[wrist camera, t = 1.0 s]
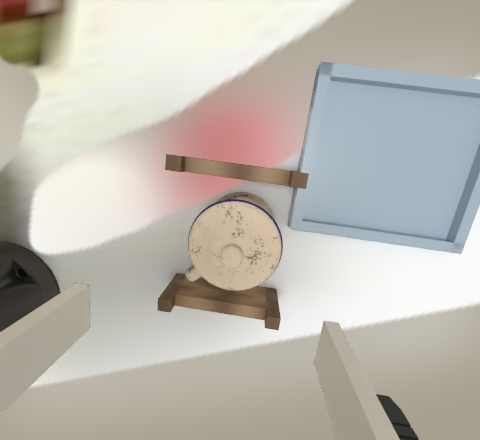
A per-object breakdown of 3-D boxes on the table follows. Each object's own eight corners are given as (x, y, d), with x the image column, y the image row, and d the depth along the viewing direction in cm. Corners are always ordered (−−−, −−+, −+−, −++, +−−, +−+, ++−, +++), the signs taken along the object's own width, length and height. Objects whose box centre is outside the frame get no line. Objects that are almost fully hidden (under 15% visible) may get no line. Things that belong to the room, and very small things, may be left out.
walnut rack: (176, 283, 33) (157, 310, 27) (185, 156, 29) (166, 154, 23) (274, 298, 33) (278, 330, 26) (297, 171, 29) (309, 173, 22)
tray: (288, 224, 30) (290, 229, 28) (316, 69, 26) (321, 61, 24) (447, 248, 29) (461, 253, 27) (503, 91, 25) (524, 84, 23)
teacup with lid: (244, 175, 29) (236, 180, 18) (290, 229, 30) (309, 267, 19) (177, 233, 32) (132, 271, 20) (221, 282, 33) (202, 343, 21)
